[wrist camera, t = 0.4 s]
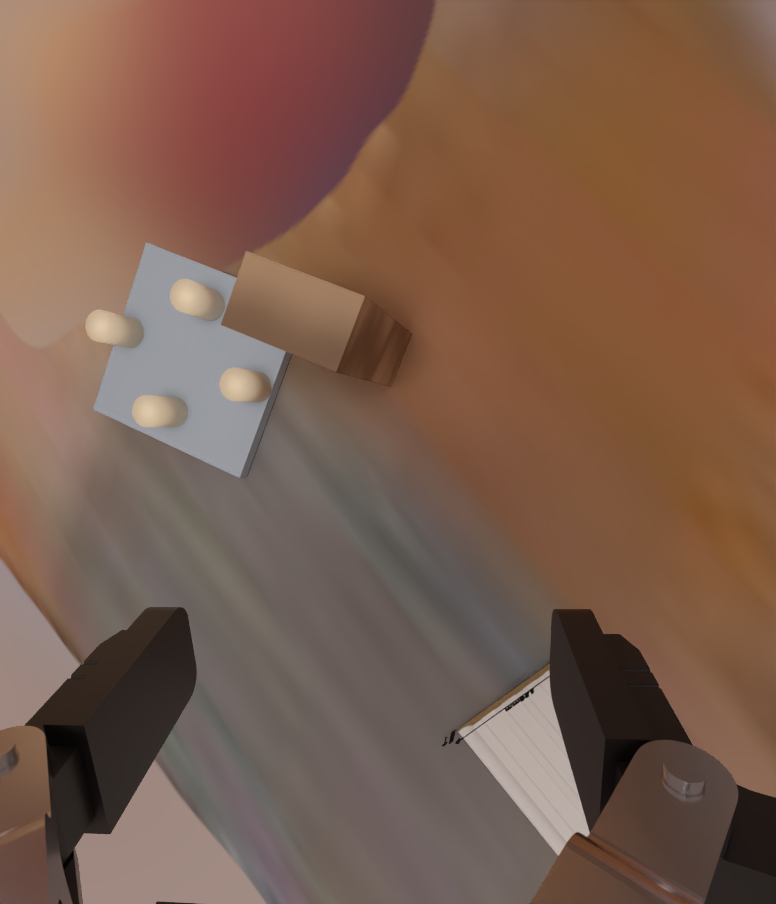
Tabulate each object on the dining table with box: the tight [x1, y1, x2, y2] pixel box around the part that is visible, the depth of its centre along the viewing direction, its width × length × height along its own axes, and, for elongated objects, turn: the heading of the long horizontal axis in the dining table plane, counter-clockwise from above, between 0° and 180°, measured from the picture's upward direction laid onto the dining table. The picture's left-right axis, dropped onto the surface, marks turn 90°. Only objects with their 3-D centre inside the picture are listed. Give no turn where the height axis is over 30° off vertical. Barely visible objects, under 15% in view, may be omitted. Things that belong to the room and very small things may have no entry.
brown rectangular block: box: [221, 251, 412, 387], centre depth 30 cm, size 4×6×11 cm, turn 68°
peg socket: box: [86, 243, 292, 478], centre depth 36 cm, size 12×12×4 cm
